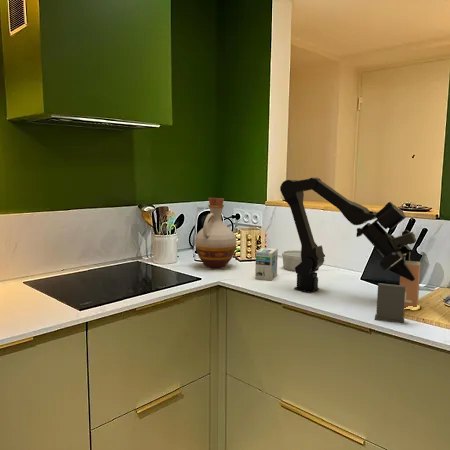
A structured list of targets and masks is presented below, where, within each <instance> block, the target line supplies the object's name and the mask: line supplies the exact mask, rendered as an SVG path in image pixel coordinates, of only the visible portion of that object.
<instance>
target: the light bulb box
mask: <svg viewBox="0 0 450 450" xmlns="http://www.w3.org/2000/svg"><path fill="white" fill-rule="evenodd" d="M278 251H279V249H278V248H271V247H270V248H269V247H261V248H259V249H258V250H257V251H255V269H254V270H255V274H254V276H255V277H254V278H255V280H262V281H272V280H273V279H274V278H276V277H277V275H278V256H279V255H278V254H279V252H278Z"/></svg>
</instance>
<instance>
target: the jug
mask: <svg viewBox="0 0 450 450" xmlns="http://www.w3.org/2000/svg"><path fill="white" fill-rule="evenodd" d="M208 201H209V204H208V208H209V212H210V213H208V214H207V216H206V217H205V219H204V223H203V227H202V228H201V229H200V230H199V231H198V232H197V233H196V235H195V240H194V245H195V249H196V253H197V256H198V258H199V259H200V261H201V262H202V264H203V265H204V267H206V268H207V269H212V270H217V269H218V270H219V269H221V270H222V269H224V268H225V267H227V265H228V264H229V263H230V261H231V260H232V259H233V256H234V254H235V251H236V248H237V237H236V235H235V233H234V232H233V231H232V229H230V228H229V227H228V226H227V225H226V224H225V223H224V221H223V220H222V219H223V218H222V215H223V214H222V213H223V208H224V206H225V204H224V201H225V198H221V197H220V198H219V197H208Z"/></svg>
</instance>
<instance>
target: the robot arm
mask: <svg viewBox="0 0 450 450" xmlns="http://www.w3.org/2000/svg"><path fill="white" fill-rule="evenodd" d="M279 190H280V193H281V195H282V197H283V199H284V201H285V202H286V203H287V205H288V206H289V209H290V210H291V214H292V218H293V220H294V224H295V228H296V231H297V234H298V237H299V241H300V245H301V248H300V251H301V261H302V262H301V263H300V264H299V265H297V266H296V267H295V271H294V272H295V273H296V286H295V287H294V288H293V289H294V290H296V291H300V292H306V293H312V292H315V291H317V290H320V288H319V277H318V273H317V272H318V271H319V269H320V267H322V266H323V265H324V262H325V257H326V254H325V253H324V249H323V246H322V245H318V244H317V243H316V242H315V239H314V236H313V232H312V230H311V226H310V221H309V219H308V214H307V213H306V209H305V205H304V195H305V194H304V192H308V191H311V190H312V191H313V192H314V193H316V194H317V195H318V196H320V197H321V198H323V199H324V200H326V201H327V202H328V203H330V204H331V205H332V206H334V207H335V208H337V209H338V210H339V211H340V213H341V214H342V215H343V217H344V218H345V219H346V220H347V221H348V222H349V223H350V224H351V225H353V226H361V225H364V224H365V225H364V226H362V227H357V228H356V238H359V237H361V236H362V235H364V237H365V238H366V239H367V240H368V241H369V242H370V243H371V244H372V246H373V250H374V251H376V250H377V251H378V252H379V253H380V255H381V257H382V260H380V262H379V267H380V268H382V270H383V271H385V270H387V271H389V272H392V273H394V274H396V275H398V276H399V277H400V276H402V277H404V278H406V279H409V280H411V281H413V280H415V278H414V276H413V275H412V273H411V272H410V270H409V269H408V267H407V266H406V264H405V261H411V259H410V258H411V251H410V250H411V249H412V248H411V247H410V246H409V245H412V244H415V243H416V242H417V239H416V234H415V233H414V232H413V231H409V230H408V229H405V230H403V231H401V235H399V236H396V237H395V236H394V235H393V234H389V233H388V232H387V231H386V230H387V229H389V230H393V229H394V228H395V227H396V226H397V225H399V224H401V222H402V221H403V220H405V219H406V218H407V216H406V214H405V213H404V212H403V210H402V209H400V208H399V207H397V206H396V205H394V204H393V202H391V201H390V202H387V203H386V204H385V205H384V207H382V208H381V209H380V210H379V211H378V212H376V211H373V210H369V208H368V207H366V206H364V205H362V204H359V203H357V202H355V201H352V200H350V199H347V198H346V196H344V195H342V194H341V193H339V192H338V191H336V190H335V189H334V188H332V187H331V186H330V185H328V184H327V183H326V182H324V181H322V180H321V179H320V178H319V177H310V178H307V179H299V180H298V179H285V180H284V181H283V182H282V183H281V185H280V189H279ZM373 220H374V221H373ZM369 221H373V222H372V223H370V222H369Z"/></svg>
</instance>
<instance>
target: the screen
mask: <svg viewBox="0 0 450 450" xmlns="http://www.w3.org/2000/svg"><path fill="white" fill-rule="evenodd" d="M376 296H377V297H376V311H375V316H374V320H375V321H382V322H387V323H396V324H402V325H403V324H405V318H404V314H405V312H404V311H405V309H404V300H405V286H402V285H400V284H392V283H390V284H389V283H380V282H378V283H377V295H376Z"/></svg>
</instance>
